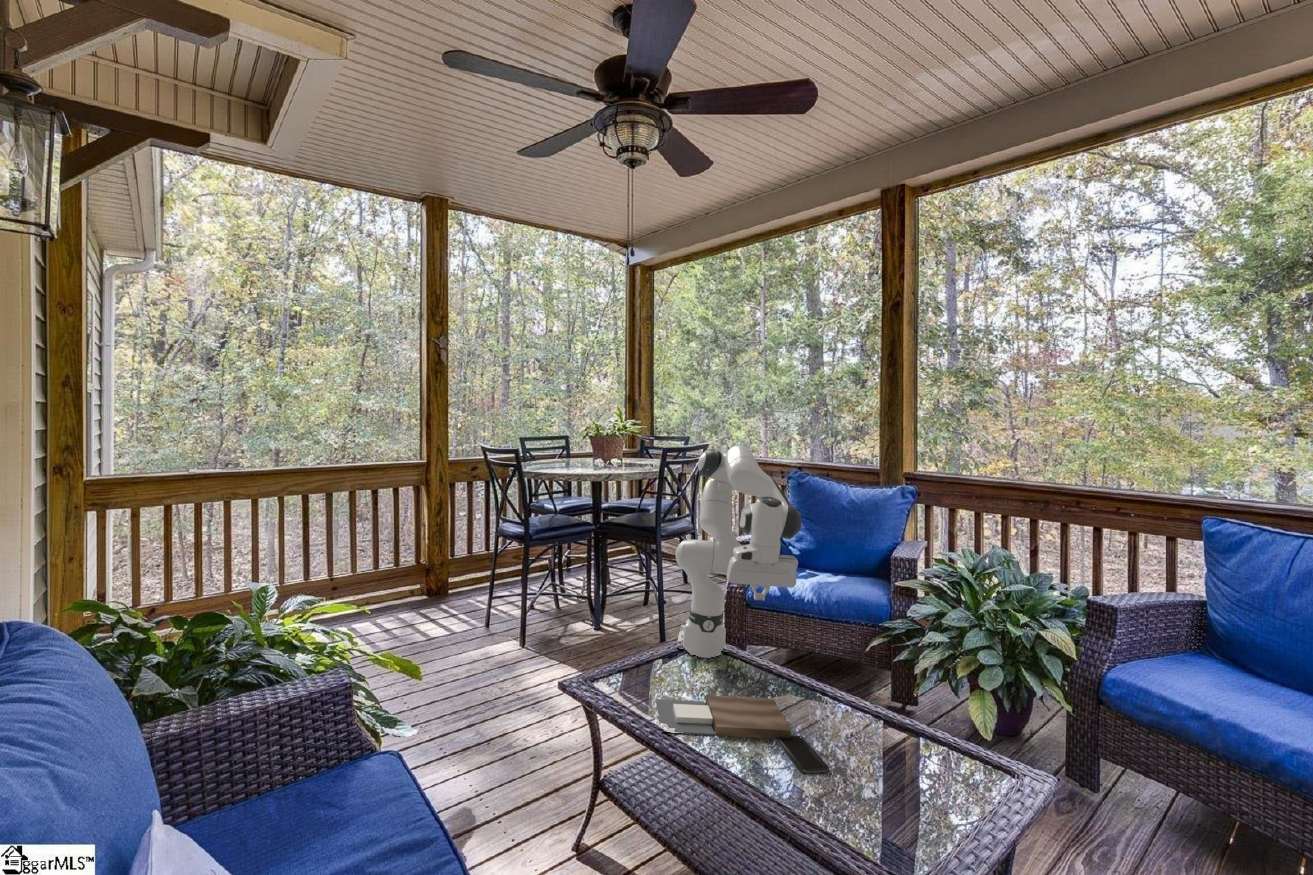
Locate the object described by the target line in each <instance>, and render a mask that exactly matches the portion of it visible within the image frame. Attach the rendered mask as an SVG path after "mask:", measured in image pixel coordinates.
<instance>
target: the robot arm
mask: <svg viewBox="0 0 1313 875" xmlns="http://www.w3.org/2000/svg"><path fill="white" fill-rule="evenodd" d="M697 471H698V473H699V475H701V476H703V477H705V478H706V479H708V480H706V482H705V484H704V487H703V490H702V494H701V501H700V502H701V503H700V513H699V526H700V527H701V529H702V530H703V531H704V532H705V534H708V535H710V536H711V537H712V538H713V539H714V541H712V540H704V539H684V540H682V541H681V542H680V543H679V544H678V545H677V546H676V549H675V561H676V563H677V565H678V566H679V568H681V569H682V570H683V571H684V572H685V575H686V576H687V577H688V579H689V581H690V585H691V606H690V609H689V611H688V618H687V620H686V621H685V624H681V625H680V631H679V632H678V637H677V641H682V640H683V647H684V648H685V650H687V651H688V652H689V653H690V654H689V655H691V656H693V655H696V656H695V657H697V656H698V657H697V658H704V659H712V658H711V657H715V656H717V655H719V654H720V653H721V651H722V650H723V648H724V647H725V645H726V635H727V634H726V633H727V629H726V628H725V626H724V625H723V621H724V611H723V610H724V601H725V600H724V599H725V591H724V589H723V588H722V586H721V585H720V584H718V583H717V582H716V581H713V580H712V579H711V578H710V577H709V574H719V575H725V576H726V580H727V581H728V582H729V583H730V584H736V585H737V584H738V585H749V586H750V587H751V589H752V592H753V600H754V601H765V599H766V595H767V594H768V592H769V591H770V589H771V587H777V588H778V587H779V588H789V589H793V588H794V587H796V585H797V569H798V566H799V561H798V558H797V557H795V556H794V555H787V554H781V545H782V543H781V539H785V540H791V539H792V538H794V537H795V536H796V535H797V534H799V533H800V531H801V529H802V517H801V513H800V512H799V511H798V509H797V508H796V507H795V506H793V504H791V502H790V500H789V499H788V498H787V496H786V494H785V493H784V491H783V490H782V489H781V487H780V485H779V484H778V483H777V482H776V480H775V479H773V477H771V476H769V475H768V474H767V473H766V472H765V471H763V469H762V468H761V467H760V466H759V463H758V461H757V459H756V457H755V456H754V454H753V452H752V451H751V450H750V449H749V448H748V447H746V446H745V445H742V444H741V445H735V446H732V447H730V448H729V449H728V451H727V452H726V451H723V450H718V449H712V448H710V449H705V450H704V451H702V452H701V454H700V457H699V458H698V462H697ZM733 490H735V491H737V492H738V493H741V494H744V495H748V496H754V497H757V498H756V500H755V502H754V503H748V504H746V505H745V506H743V508H742V509H741V510H740V513H739V514H740V515H739V528H740V529H741V530H742V531H743V532H744V533H745V534H747V535H750V540H749V544H743V545H742V544H741V543H740V542H739V541H738V539H737V538H736V536H735V535H734V533H733V532H734V531H733V529H732V524H731V523H732V521H731V520H732V518H731V517H732V516H731V514H732V513H731V512H732V493H733ZM759 586H760V587H761V586H762V587H763V588H764V589H763V590H762V592H757V590H758V588H759ZM685 639H686V640H685ZM715 658H716V657H715Z"/></svg>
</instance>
